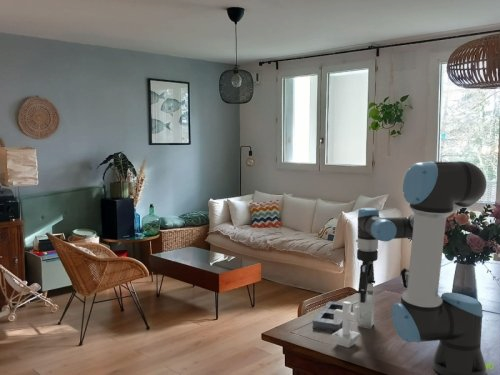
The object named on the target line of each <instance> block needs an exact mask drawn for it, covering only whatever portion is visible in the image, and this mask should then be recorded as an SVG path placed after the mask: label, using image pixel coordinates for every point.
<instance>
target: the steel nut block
mask: <svg viewBox="0 0 500 375" xmlns="http://www.w3.org/2000/svg"><path fill="white" fill-rule="evenodd" d="M357 294H358V296H357V306H359V293H357ZM374 306H375V290H373V291H369V290H367V311H361V310H360V319H359V321H358V322H357V327H359V328H365V329H372V327H373V325H374V317H375V316H374V314H375V312H374V310H375V309H374V308H375V307H374Z"/></svg>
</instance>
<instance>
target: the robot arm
mask: <svg viewBox="0 0 500 375" xmlns="http://www.w3.org/2000/svg"><path fill="white" fill-rule="evenodd" d="M402 183H403V185H402V192H403V197H404V200H405V201H406V202H407V203H409V209H410V210H411V211H413V213H412V214H411V215H409V216H402V217H401V216H399V217H396V216H395V217H381V216H380V213H379V209H378V208H374V207H361V208H359V209H358V211H357V212H358V213H357V214H358V215H357V239H355V242H356V243H357V249H356V258H357V260H359V261H361V262H362V264H360V267H359V268H360V269H359V282H358V290H357V291H356V293H357V294H358V293H359V307H360V310H361V311H367V290H369V291H374V284H376V280H375V270H374V269H375V268H374V267H375V266H374V262H376V261H377V260H378V259H379V258H378V255H379V254H378V253H379V251H378V249H379V241H380V242H384V243H385V242H386V243H387V242H391V241H392V240H396V239H397V240H398V239H411V247H410V256H409V268H408V269H409V276H408V287H407V288H406V290H404V291H402V292H401V295H400V302H399V301H397V302H395V303H394V304H393V305H392V307H391V318H392V322H393V323H392V324H393V327H394V329H395V331H396V333H397V335H398V336H399V337H400V339H401V340H403V341H404V342H406V343H417V344H419V343H421V342H422V343H423V342H436V341H439V342H438V344H437V347H436V350H435V352H434V355H433V357H432V368H433V369H434V371H435V372H436V373H438V374H440V375H486V374H487V366H486V362H485V359H484V355H483V353H482V350H481V348H482V345H481V344H482V328H483V327H482V326H483V317H484V316H483V314H484V313H483V305H482V303H481V301H480V300H478V299H476V298H474V297H471V296H468V295H466V294H461V293H457V292H443V293H442V294H441V295H439V286H440V279H441V278H440V277H441V268H442V260H443V258H442V257H443V250H444V240H445V231H446V225H447V224H446V222H447V218H449V217H450V216H451V215H453V214H454V213H456V212H457V211H458V210H460V209H462V208H469V207H471V206H472V205H474V204H475V203H477V202H479V200H481V198H482V197H483V196H484V194H485V192H486V189H487V179H486V176H485V174H484V172H483V171H482V170H481V168H479V167H478V166H477V165H475V164H474V163H471V162H468V161H430V160H429V161H424V162H423V161H422V162H415V163H414V164H412V165H411V166H410V168H408V169H407V171H406V173H405V175H404V178H403V182H402Z"/></svg>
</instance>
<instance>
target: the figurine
mask: <svg viewBox="0 0 500 375" xmlns="http://www.w3.org/2000/svg"><path fill="white" fill-rule="evenodd" d="M342 303H343V309H342V310H339V309H336V310H335V311H334V324H335V325H337V324H339V318H342V320H343V324H342V329H340V330H338V331H337V332H333V333H332V334H331V336H332V338H333V339H334V341H335V343H336V345H337V346H341V347H345V348H348V349H349V348H351V347H352V346H353V345H355V344H356V342H357V340H358V338H359V337H360V335H361V332H357V331H353V330H351V322H355V323H358V321H359V319H360V307H359V306H358V305H356V306H354V307H353V312H351V304H352V302H351V301H342Z"/></svg>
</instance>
